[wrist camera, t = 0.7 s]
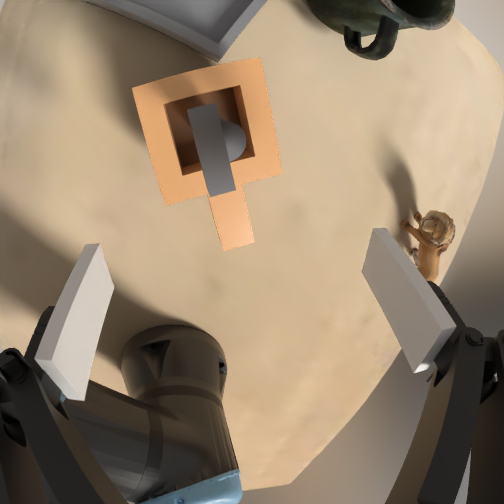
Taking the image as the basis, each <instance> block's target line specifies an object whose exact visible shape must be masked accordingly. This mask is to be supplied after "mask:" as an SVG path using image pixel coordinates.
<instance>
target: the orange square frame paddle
mask: <svg viewBox="0 0 504 504" xmlns="http://www.w3.org/2000/svg"><path fill="white" fill-rule="evenodd" d="M231 87H233V90H234V95H235V99H236V104H237V108H238V113H239V118H240V122H241V127H242V130H243V131H244V133H245V136H246V150H245V151H244V152H243V153H242V154H241V156H240V157H238V158H237V159H235V160H233V161H231V162H230V165H231V170H232V174H233V178H234V183H235V187H236V190H235V191H231V192H228V193H224V194H220V195H217V196H213V197H210V195H209V192H208V190H207V186H206V183H205V179H204V175H203V171H202V167H201V164H200V162H199V163H195V164H192V165H188V166H185V167H182V166H181V162H180V159H179V155H178V151H177V148H176V144H175V140H174V137H173V133H172V129H171V125H170V121H169V118H168V114H167V110H166V106H165V104H167V103H170V102H174V101H177V100H181V99H185V98H188V97H192V96H196V95H200V94H204V93H208V92H213V91H217V90H222V89H226V88H231ZM132 91H133V95H134V99H135V103H136V106H137V110H138V114H139V118H140V121H141V125H142V129H143V132H144V136H145V139H146V143H147V146H148V150H149V153H150V157H151V160H152V163H153V167H154V170H155V173H156V177H157V180H158V183H159V186H160V189H161V193H162V196H163V199H164V202H165V205H166V206H167V205H170V204H174V203H177V202H180V201H184V200H187V199H190V198H194V197H197V196H201V195H204V194H207V196H208V199H209V203H210V207H211V210H212V214H213V218H214V221H215V225H216V228H217V232H218V236H219V239H220V242H221V245H222V248H223V251H227V250H230V249H233V248H237V247H240V246H244V245H247V244H251V243H254V242H255V241H254V237H253V232H252V228H251V223H250V219H249V214H248V209H247V205H246V200H245V196H244V191H243V187H242V184H244V183H248V182H251V181H255V180H259V179H263V178H267V177H271V176H275V175H279V174H283V173H282V167H281V161H280V156H279V150H278V144H277V139H276V134H275V128H274V123H273V118H272V112H271V107H270V102H269V97H268V92H267V87H266V82H265V78H264V73H263V68H262V63H261V59H260V58H253V59H247V60H241V61H235V62H230V63H224V64H219V65H215V66H210V67H205V68H201V69H197V70H193V71H188V72H185V73H181V74H177V75H173V76H170V77H166V78H163V79H159V80H156V81H153V82H149V83H146V84H143V85H140V86H137V87H134V88H132Z"/></svg>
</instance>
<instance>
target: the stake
mask: <svg viewBox="0 0 504 504" xmlns="http://www.w3.org/2000/svg"><path fill="white" fill-rule="evenodd" d="M165 106H166V110H167V114H168V118H169V121H170V125H171V129H172V133H173V137H174V140H175V144H176V148H177V151H178V155H179V159H180V162H181V166H182V167H185V166H188V165H192V164H195V163H199V162H200V164H201V167H202V171H203V175H204V179H205V183H206V186H207V190H208V192H209V195H210V197H213V196H217V195H220V194H224V193H228V192H231V191H235V190H236V187H235V183H234V178H233V174H232V170H231V165H230V162H231V161H233V160H235V159H237V158H238V157H240V156H241V154H242V153H243V152H244V151H245V150H246V136H245V133H244V131H243V130H242V127H241V122H240V118H239V113H238V108H237V104H236V99H235V95H234V90H233V87H231V88H226V89H222V90H217V91H213V92H208V93H204V94H200V95H196V96H192V97H188V98H185V99H181V100H177V101H174V102H170V103H167V104H165Z"/></svg>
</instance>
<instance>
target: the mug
mask: <svg viewBox="0 0 504 504" xmlns="http://www.w3.org/2000/svg"><path fill="white" fill-rule="evenodd" d="M308 1H309V4H310V6H311V8H312V10H313V11H314V13H315V14H316V15H317V17H318V18H319V19H320V20H321V21H322V22H323V23H324V24H325V25H327V26H328V27H329V28H331V29H332V30H334V31H336V32H338V33H340V34H343V35H344V41H345V46H346V47H347V49H348V50H349V51H351V52H352V53H354V54H356V55H358V56H360V57H362V58H365V59H370V60H378V59H382V58H385V57H386V56H387V55H388V54H389V53H390V52H391V51H392V50H393V47H394V45H395V42H396V39H397V35H398V30H400V29H407V28H414V27H418V28H421V29H426V30H436V29H439V28H442V27H443V26H445V25H446V24H447V23H448V22H449V21H450V20H451V18H452V16H453V13H454V8H455V0H308ZM373 34H376V37H375V40H374V41H373V42H372V43H371V44H370V45H369V46H368V47H364V48H362V46H361V37H363V36H368V35H373Z"/></svg>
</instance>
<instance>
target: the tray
mask: <svg viewBox="0 0 504 504" xmlns="http://www.w3.org/2000/svg"><path fill="white" fill-rule="evenodd" d="M82 1H85V2H87V3H90V4H93V5H96V6H99V7H102V8H104V9H107V10H109V11H112V12H115V13H117V14H120V15H122V16H125V17H127V18H129V19H132V20H134V21H136V22H139V23H141V24H143V25H145V26H148V27H150V28H152V29H154V30H156V31H158V32H160V33H163V34H165V35H167V36H169V37H171V38H173V39H175V40H177V41H179V42H181V43H183V44H185V45H186V46H188V47H190V48H192V49H194V50H196V51H198V52H200V53H201V54H203V55H205V56H207V57H209V58H210V59H212V60H214V61H216V62H218V61H219V60H220V59H221V58H222V57H223V55H224V54H225V53H226V51H227V50H228V49H229V47H230V46H231V45H232V43H233V42H234V41H235V39H236V38H237V37H238V36H239V34H240V33H241V32H242V30H243V29H244V28H245V27H246V25H247V24H248V23H249V22H250V21H251V19H252V18H253V17H254V16H255V14H256V13H257V12H258V11H259V10H260V9H261V7H262V6H263V5H264V4H265V3H266V2H267V0H82Z"/></svg>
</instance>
